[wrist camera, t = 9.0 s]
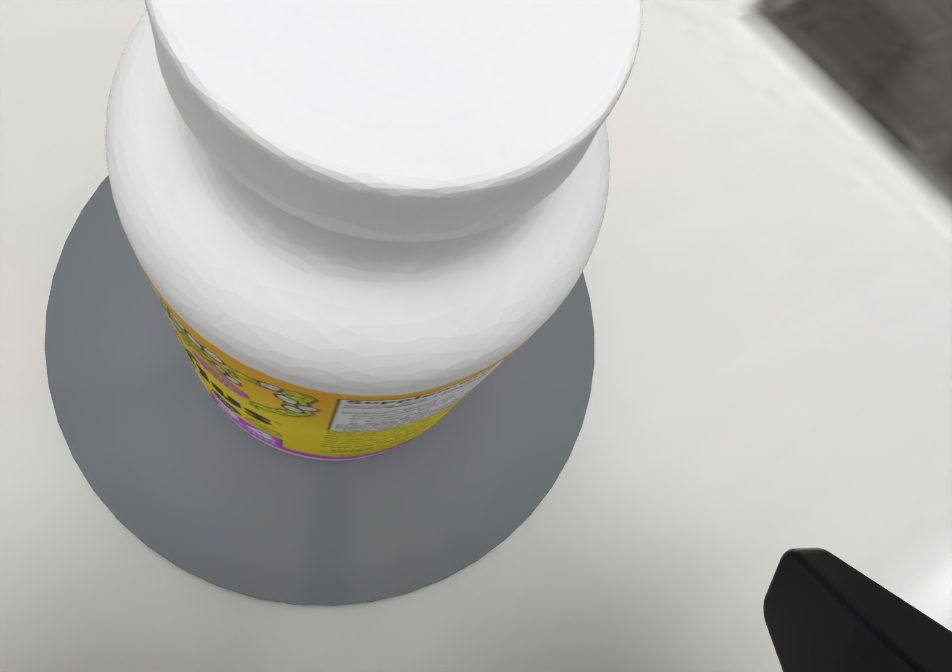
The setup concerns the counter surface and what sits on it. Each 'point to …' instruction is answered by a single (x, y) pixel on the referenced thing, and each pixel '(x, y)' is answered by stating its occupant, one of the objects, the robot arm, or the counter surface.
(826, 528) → the counter surface
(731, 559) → the counter surface
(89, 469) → the slate trivet
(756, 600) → the counter surface
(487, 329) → the supplement bottle
